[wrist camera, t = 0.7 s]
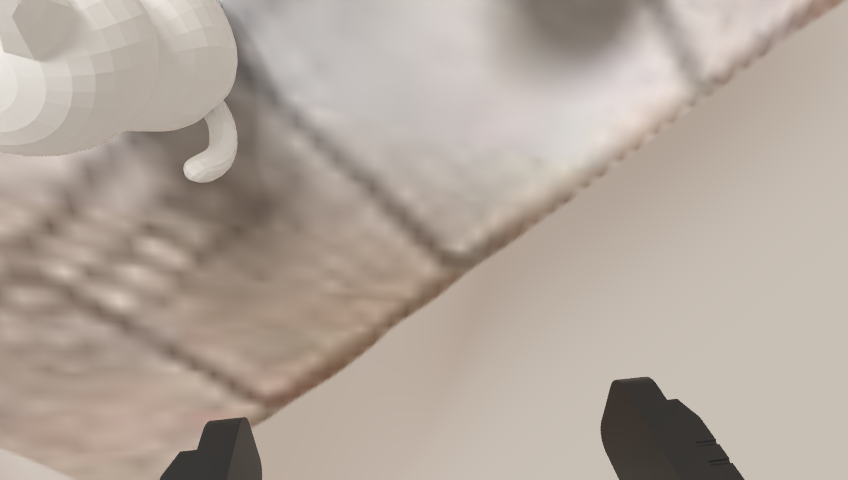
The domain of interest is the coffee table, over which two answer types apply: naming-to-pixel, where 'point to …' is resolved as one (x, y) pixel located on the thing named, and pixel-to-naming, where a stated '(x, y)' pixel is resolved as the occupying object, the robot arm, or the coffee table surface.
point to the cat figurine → (116, 75)
